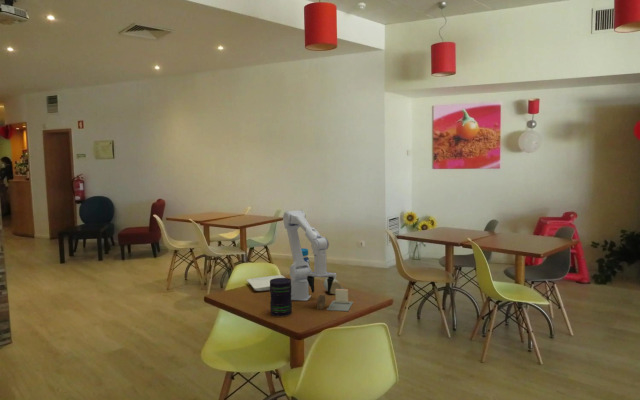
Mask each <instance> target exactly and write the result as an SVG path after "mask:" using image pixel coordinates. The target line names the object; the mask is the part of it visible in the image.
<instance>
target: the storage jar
mask: <svg viewBox="0 0 640 400" xmlns="http://www.w3.org/2000/svg"><path fill="white" fill-rule="evenodd" d="M291 281H292V279H291V278H288V277H285V278H275V279H271V280H270V290H269V293H270V302H269V304H270V305H269V308H270V315H271V316H273V317H286V316H290V315H292V313H293V300H291V291H292V290H291V288H292V286H291Z"/></svg>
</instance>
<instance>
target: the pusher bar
mask: <svg viewBox="0 0 640 400" xmlns="http://www.w3.org/2000/svg"><path fill="white" fill-rule="evenodd" d="M325 306H326V294H320V295H319V296H318V297H317V298H316V310H321V311H322V310H323V309H324V308H325Z"/></svg>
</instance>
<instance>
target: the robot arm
mask: <svg viewBox="0 0 640 400" xmlns="http://www.w3.org/2000/svg"><path fill="white" fill-rule="evenodd" d="M282 221H283V224H284V229H286V232H287V237H288V242H289V246H290V251H291V255H292V261H293V263H292V264H291V265H290V266H289V277H290V278H289V279H291V286H292V288H291V290H292V291H291V300H292V301H306V302H307V301H308V300H309V299H310V298H311V296H312V295H311V294H310V295H309V290H310V289H311V293H312V294H313V293H315V278H328V279H327V282H328V291H327V294H330V290H331V286H332V283H333V280H334V278H335V279H336V278H337V273H336V272H330V271H328V270H327V261H328V260H327V250H328V248H329V240H328V238H327V237H325V236H323V235H321V234H320V233H319V231H318V230H317V229H316V228H315V227H312V226H311V225H310V223H309V222H308V220H307V219H306V213H305V211H304V210H303V209H300V210H289V211H288V210H285V211H284V213H283V215H282ZM299 228H301V229H302V230H303V231H304V232H305V233H304V234H305V235H304V236H305V237H306V238H307V241H308V242H310V245H311V249H312V254H313V260H314V261H313V262H314V263H313V267H314V271H312V269H311V265H310V266H309V264H310V262H309V263H307V262H306V261H304V259H303V254H302V250H301V248H302V246H301V241H300V237H299V236H300V235H299V232H298V229H299ZM298 267H302V268H298ZM308 282H309V284H310V285H309V286H308ZM309 287H310V289H309Z"/></svg>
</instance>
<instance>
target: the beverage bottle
mask: <svg viewBox="0 0 640 400" xmlns="http://www.w3.org/2000/svg"><path fill="white" fill-rule="evenodd" d="M301 250H302V254H303V259H304V261H306V262H307V263H309V266H310V267H311V265H310V262H311V261H310V258H309V257H308V256H309V249H308V248H302V247H301ZM298 268H302V267H298ZM308 287H310V284H309V282H308Z"/></svg>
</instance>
